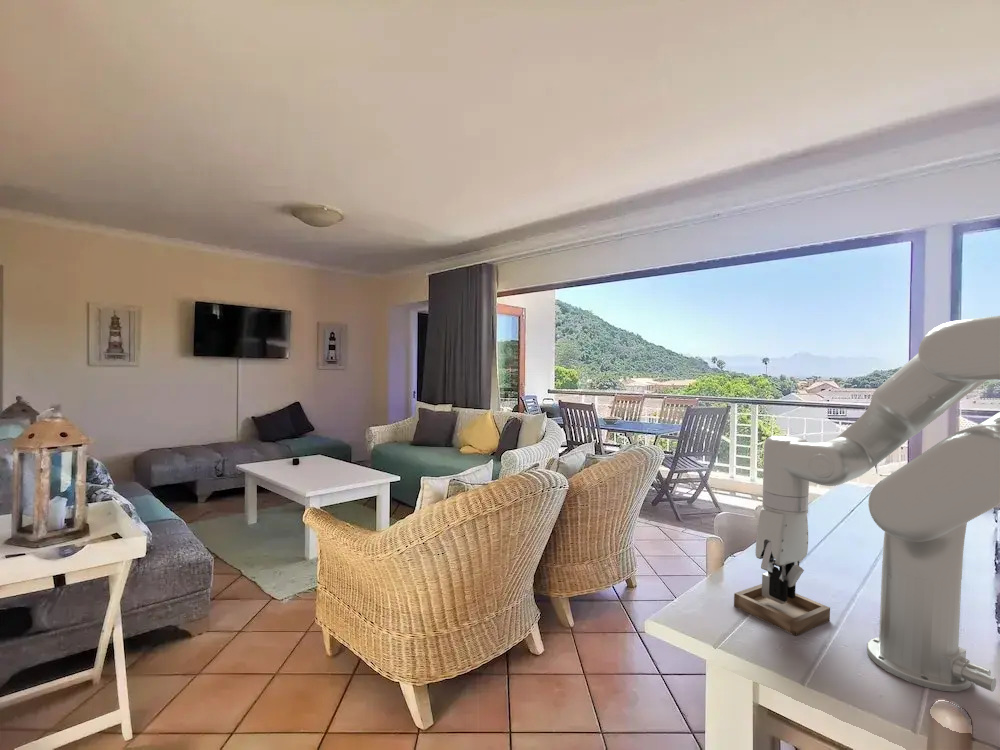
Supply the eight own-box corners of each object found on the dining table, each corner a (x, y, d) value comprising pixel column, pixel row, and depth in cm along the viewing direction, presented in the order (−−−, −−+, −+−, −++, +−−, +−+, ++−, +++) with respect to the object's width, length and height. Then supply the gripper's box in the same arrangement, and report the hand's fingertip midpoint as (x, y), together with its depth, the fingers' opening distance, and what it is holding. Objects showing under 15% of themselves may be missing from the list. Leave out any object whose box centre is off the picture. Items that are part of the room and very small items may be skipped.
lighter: (761, 595, 96) (762, 555, 96) (766, 593, 97) (767, 553, 97) (798, 611, 90) (799, 568, 90) (803, 609, 91) (804, 566, 91)
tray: (829, 620, 91) (830, 607, 91) (795, 636, 86) (796, 622, 86) (767, 593, 101) (767, 581, 101) (733, 605, 96) (734, 593, 96)
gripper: (789, 492, 100) (786, 580, 100) (740, 501, 92) (737, 597, 93) (828, 501, 93) (825, 596, 94) (779, 512, 86) (776, 616, 86)
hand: (781, 596), depth 93 cm, fingers closed on lighter, 1 cm apart
